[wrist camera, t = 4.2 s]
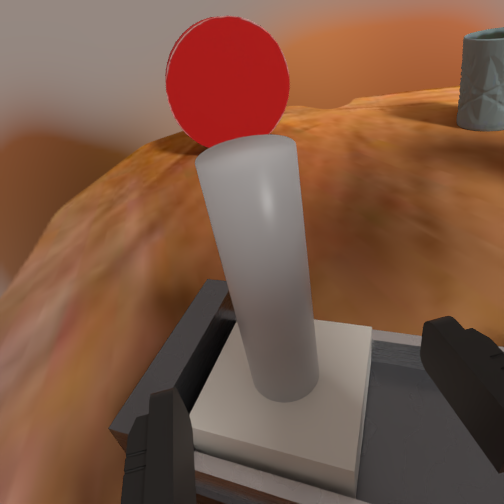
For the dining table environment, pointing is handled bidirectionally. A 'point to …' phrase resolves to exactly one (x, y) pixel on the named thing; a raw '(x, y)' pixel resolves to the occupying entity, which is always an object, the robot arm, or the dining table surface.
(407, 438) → the gray tray
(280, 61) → the toy clock
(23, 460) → the dining table surface
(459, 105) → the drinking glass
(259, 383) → the carriage
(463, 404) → the robot arm
